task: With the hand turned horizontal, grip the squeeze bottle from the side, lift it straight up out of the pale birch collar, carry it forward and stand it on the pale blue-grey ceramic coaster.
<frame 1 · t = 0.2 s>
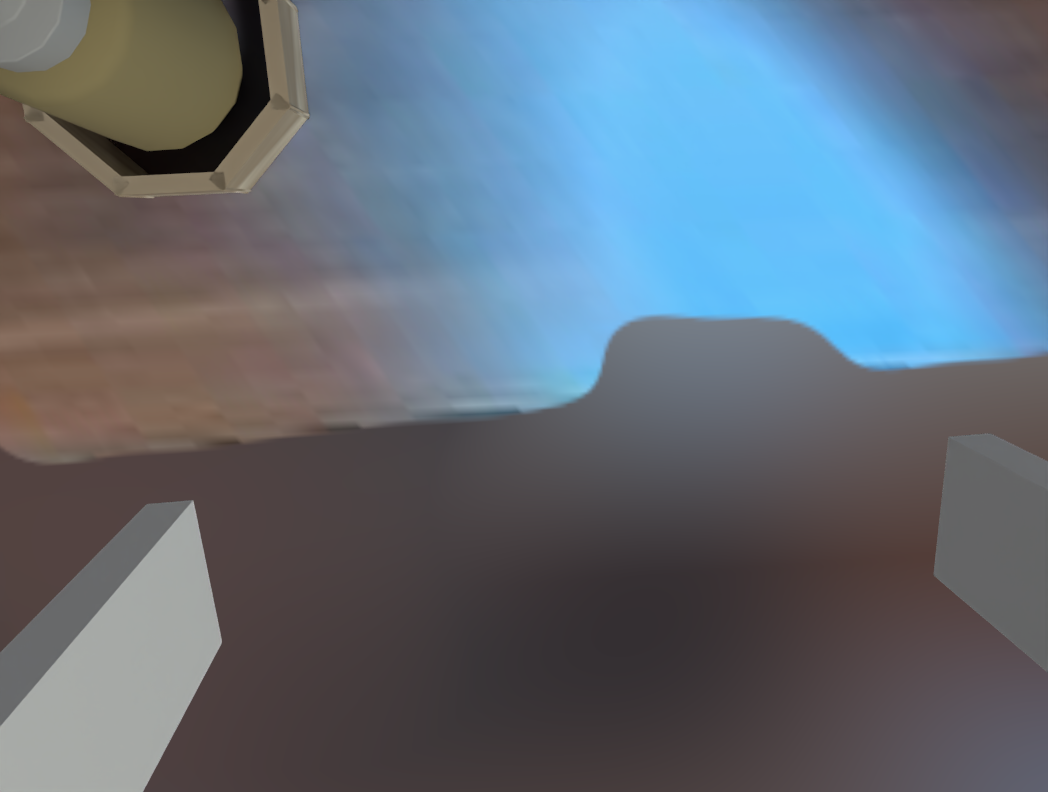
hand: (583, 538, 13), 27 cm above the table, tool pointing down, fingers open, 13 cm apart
squeeze bottle: (183, 70, 36), resting in birch collar
birch collar: (181, 69, 36), on the table
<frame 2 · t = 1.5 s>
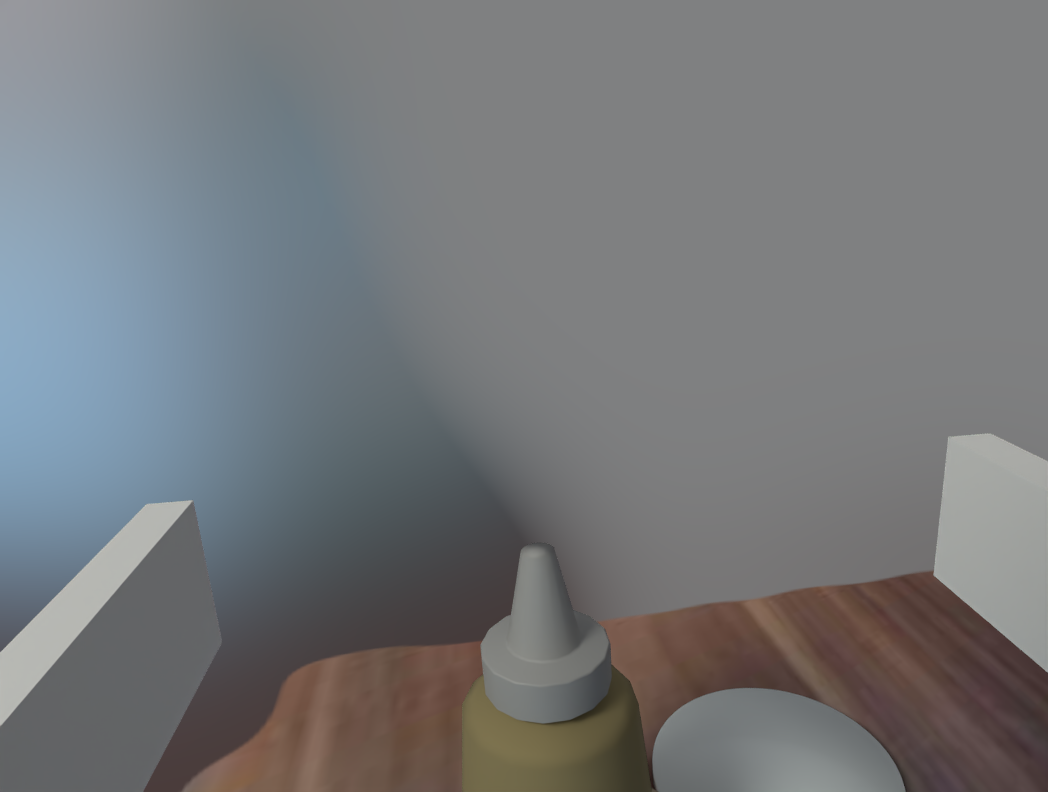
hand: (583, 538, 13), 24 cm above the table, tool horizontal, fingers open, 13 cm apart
ceramic coaster: (772, 780, 38), on the table
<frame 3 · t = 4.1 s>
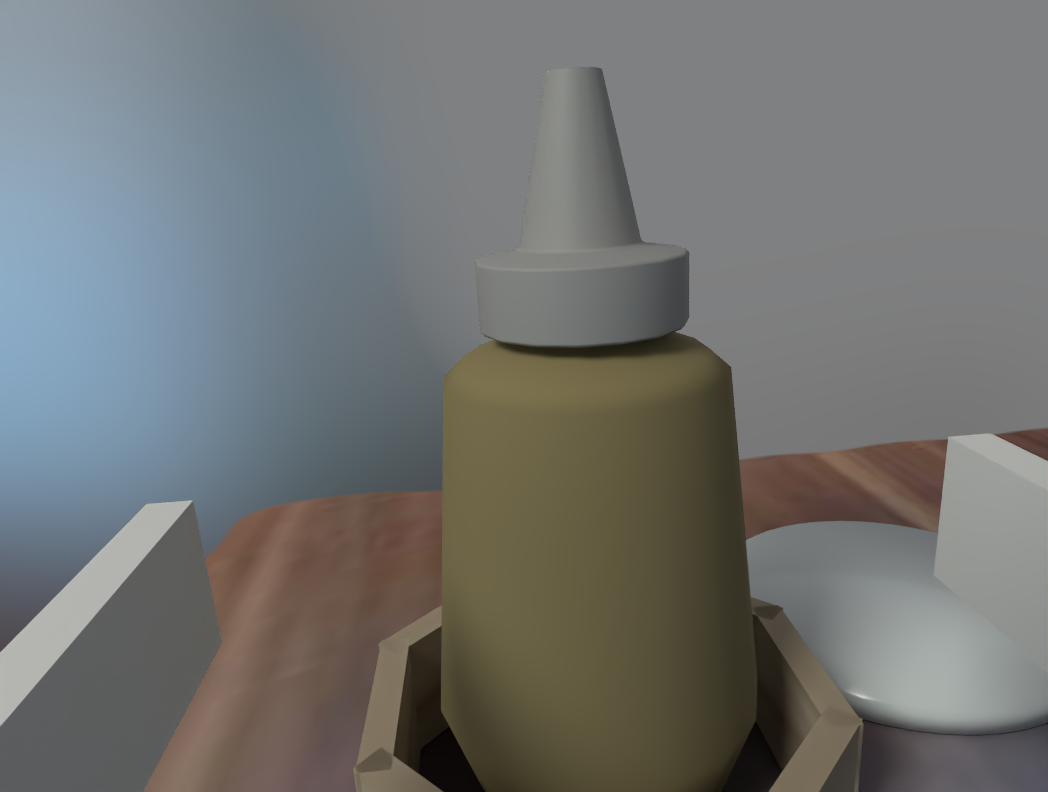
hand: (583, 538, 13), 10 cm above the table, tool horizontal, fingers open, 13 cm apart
ceramic coaster: (886, 615, 27), on the table
birch collar: (600, 787, 20), on the table
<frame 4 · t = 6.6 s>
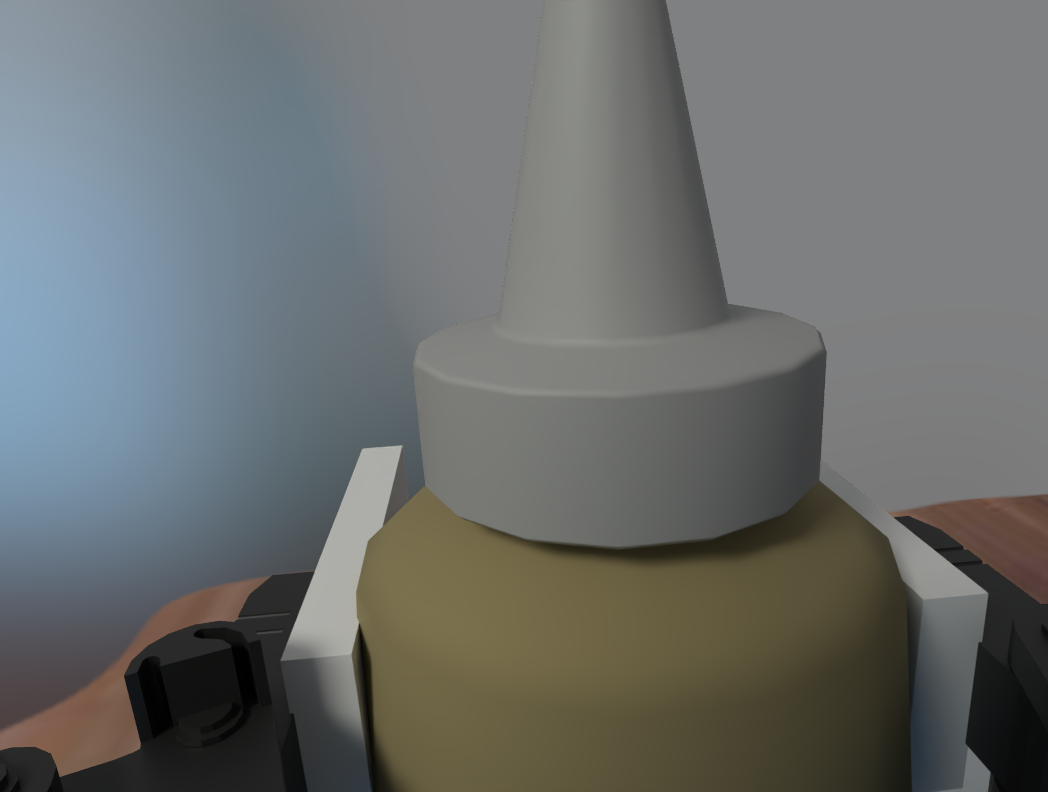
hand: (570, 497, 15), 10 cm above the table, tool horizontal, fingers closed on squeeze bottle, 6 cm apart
ceramic coaster: (1015, 788, 20), on the table
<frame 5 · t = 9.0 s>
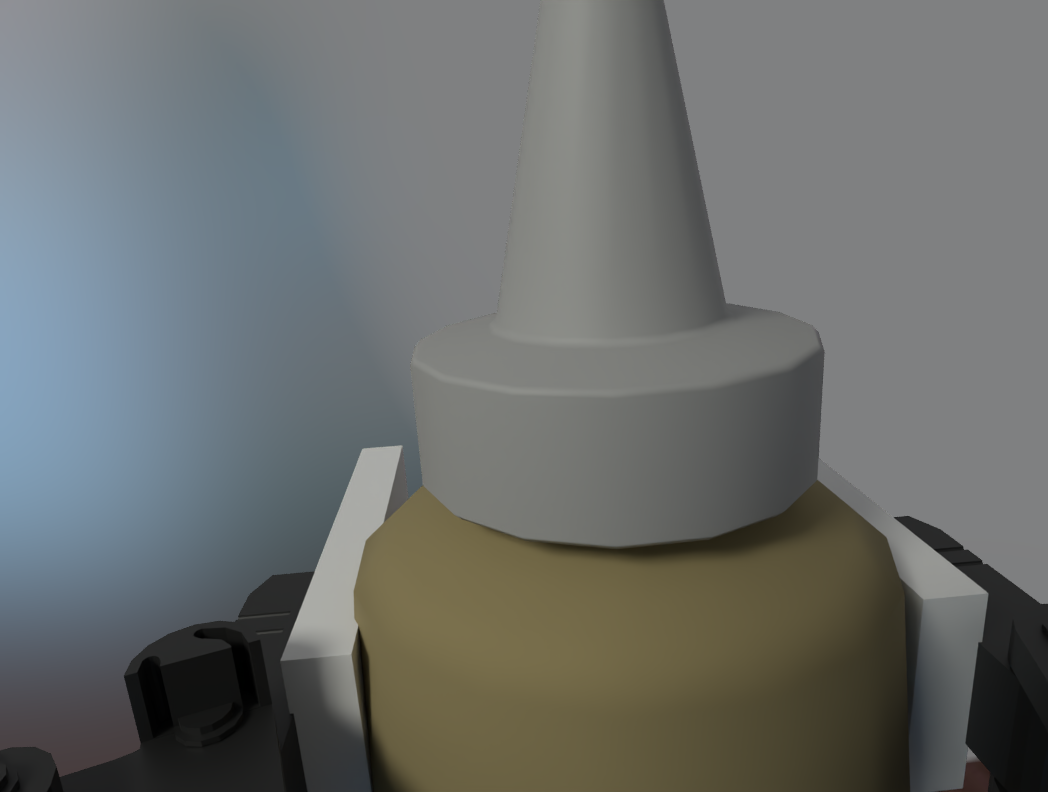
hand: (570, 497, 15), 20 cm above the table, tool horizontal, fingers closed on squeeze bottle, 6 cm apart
when the fingers open (12 cm above the table, at t = 11.5 s): squeeze bottle drops 1 cm, resting on ceramic coaster.
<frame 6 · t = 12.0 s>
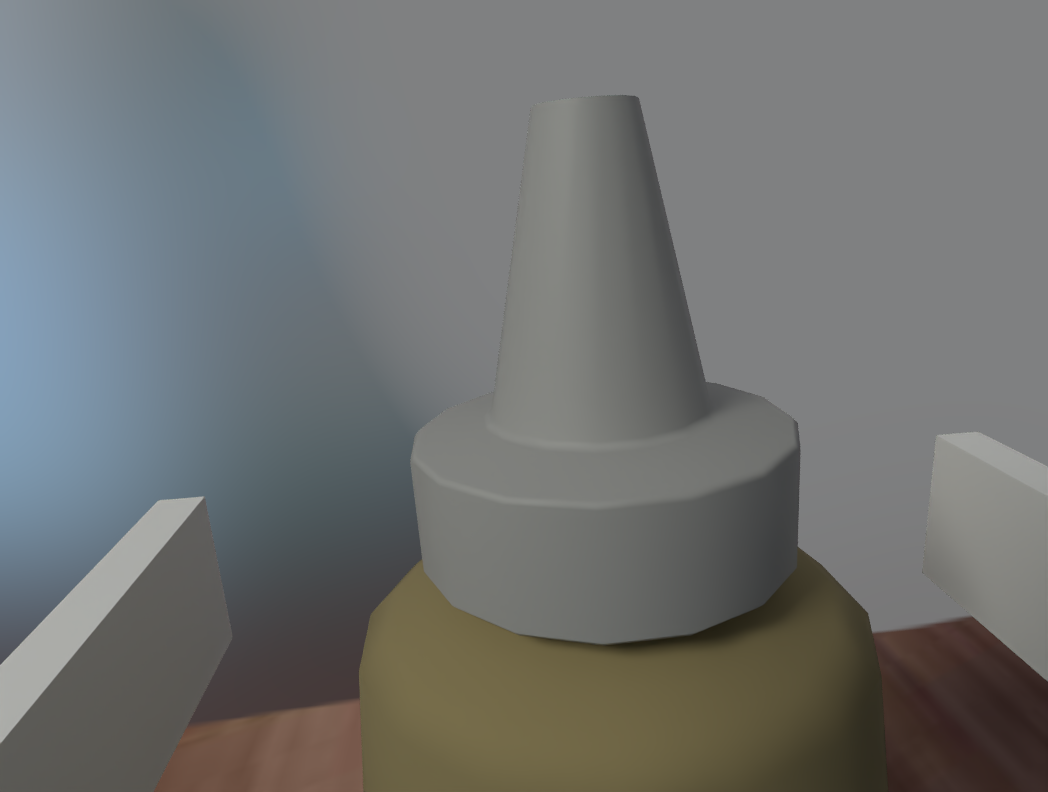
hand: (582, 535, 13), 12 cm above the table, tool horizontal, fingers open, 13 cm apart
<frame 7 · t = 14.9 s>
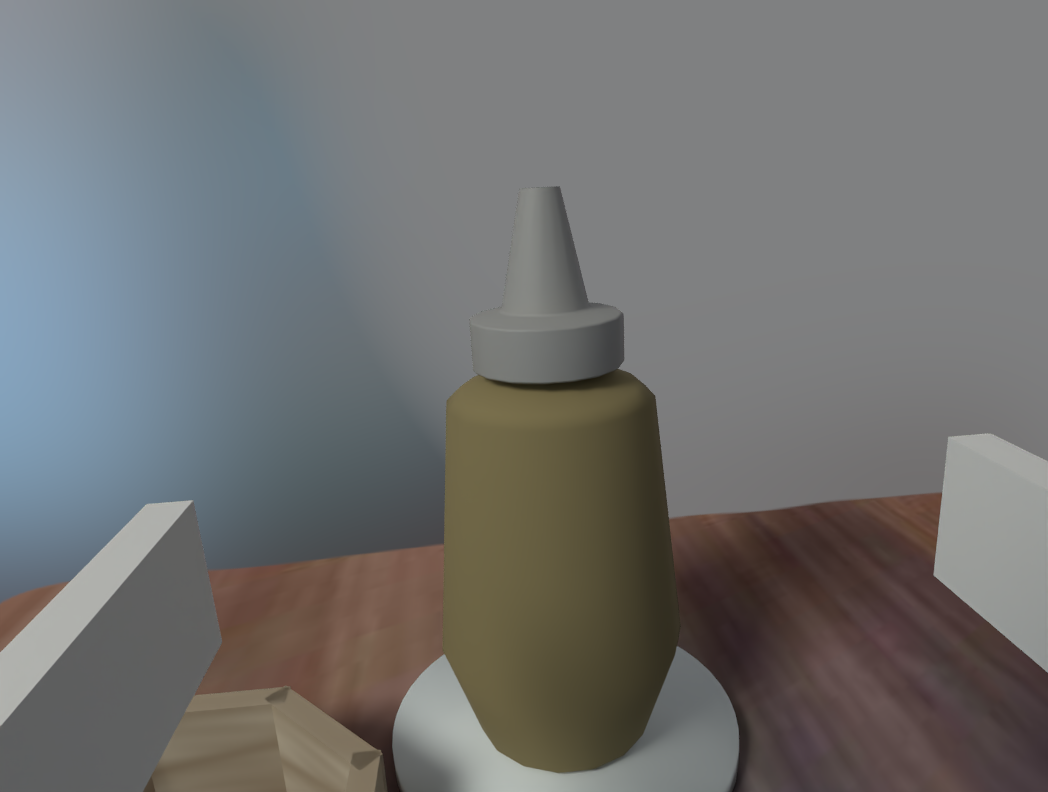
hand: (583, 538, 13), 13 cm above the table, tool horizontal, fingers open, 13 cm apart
ceramic coaster: (564, 732, 27), on the table
squeeze bottle: (564, 719, 26), point 1 cm above the table, touching ceramic coaster
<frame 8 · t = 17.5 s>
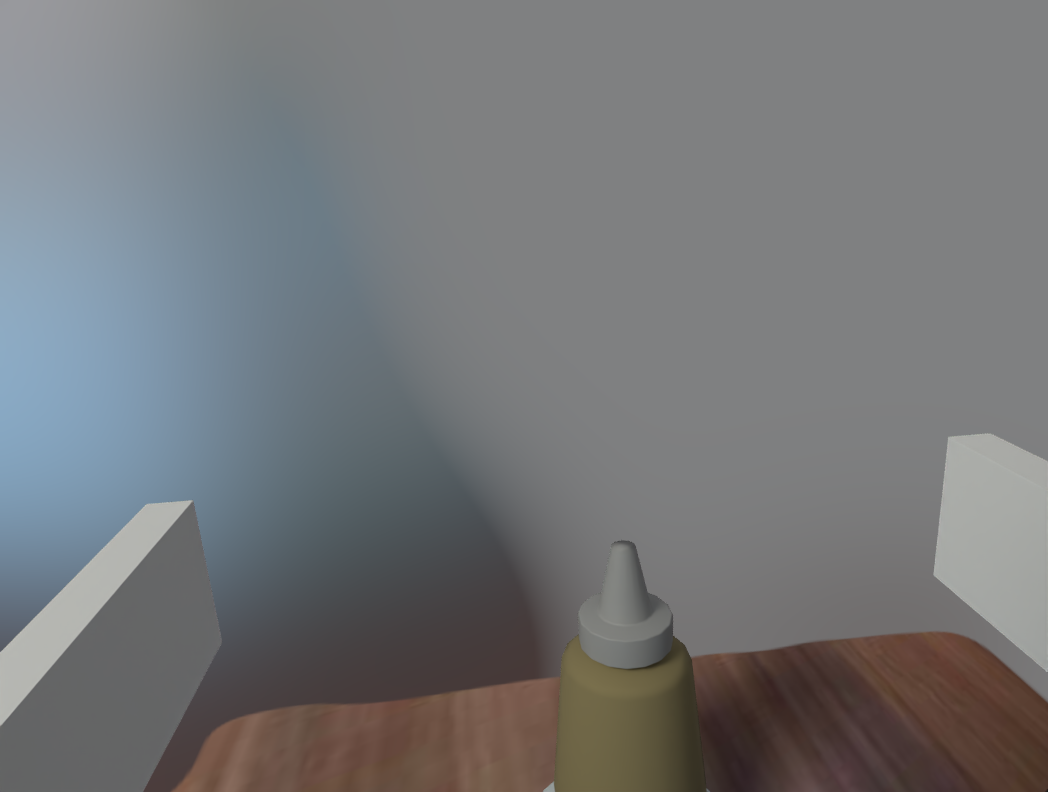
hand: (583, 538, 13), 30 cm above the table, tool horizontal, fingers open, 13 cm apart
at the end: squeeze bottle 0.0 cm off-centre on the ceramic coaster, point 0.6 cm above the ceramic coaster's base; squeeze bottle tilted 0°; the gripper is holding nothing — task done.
